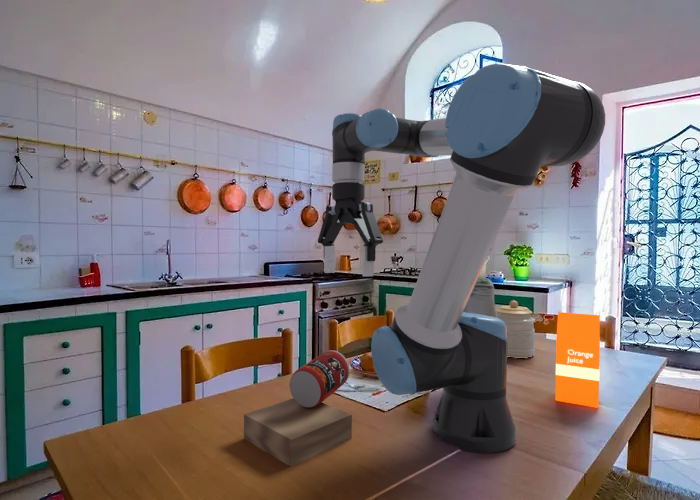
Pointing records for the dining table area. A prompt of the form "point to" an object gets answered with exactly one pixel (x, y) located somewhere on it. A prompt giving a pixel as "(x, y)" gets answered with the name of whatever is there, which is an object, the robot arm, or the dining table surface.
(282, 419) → the walnut block
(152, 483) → the dining table surface
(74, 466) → the dining table surface
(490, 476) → the dining table surface
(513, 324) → the jar
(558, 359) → the orange juice
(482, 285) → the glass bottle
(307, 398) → the canned food
